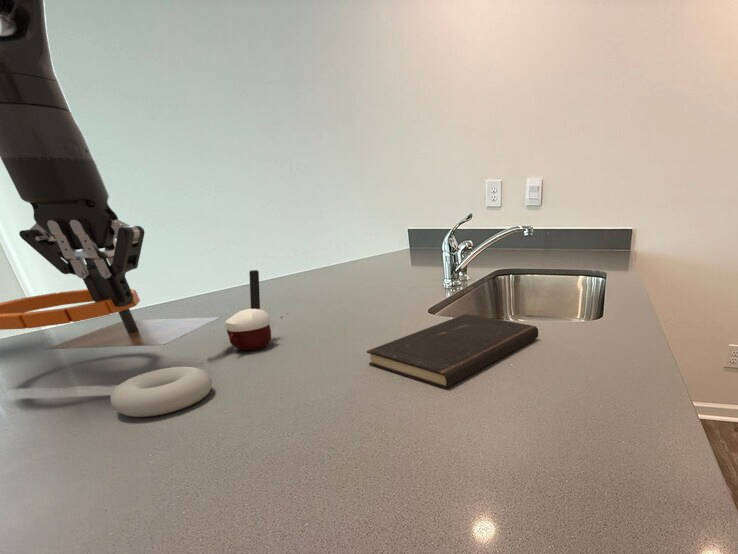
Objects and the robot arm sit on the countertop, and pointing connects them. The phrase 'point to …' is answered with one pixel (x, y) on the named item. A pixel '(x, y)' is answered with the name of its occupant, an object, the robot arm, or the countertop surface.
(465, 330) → the hardcover book
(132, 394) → the donut
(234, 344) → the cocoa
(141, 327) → the post board
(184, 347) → the countertop surface
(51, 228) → the robot arm
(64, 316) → the ring
